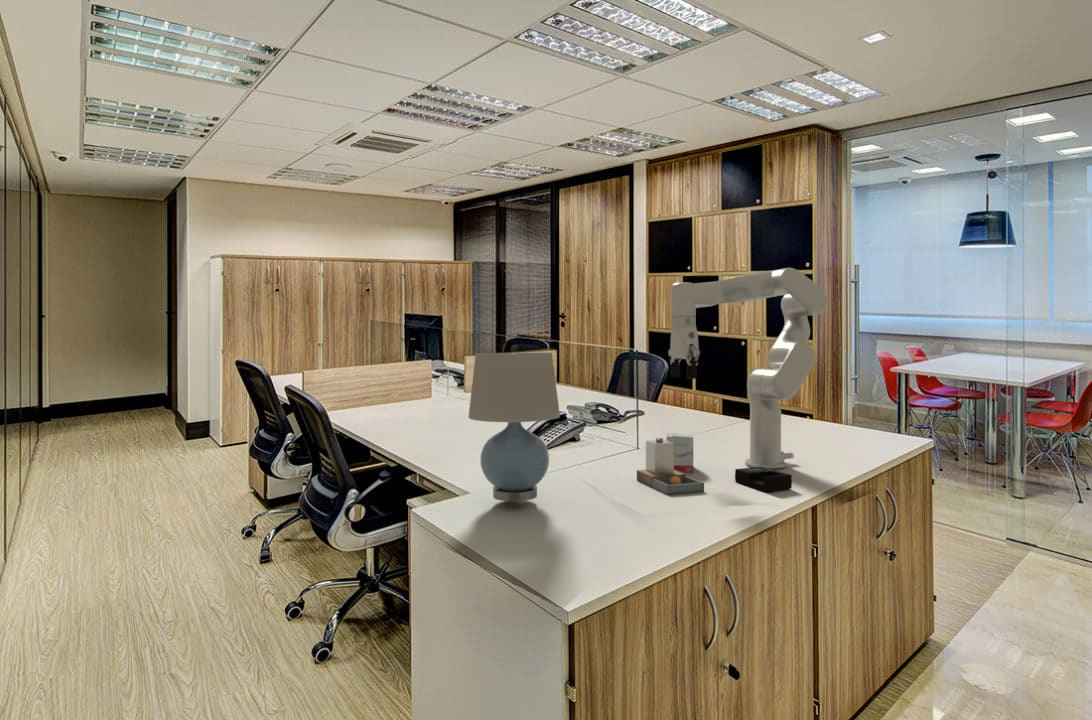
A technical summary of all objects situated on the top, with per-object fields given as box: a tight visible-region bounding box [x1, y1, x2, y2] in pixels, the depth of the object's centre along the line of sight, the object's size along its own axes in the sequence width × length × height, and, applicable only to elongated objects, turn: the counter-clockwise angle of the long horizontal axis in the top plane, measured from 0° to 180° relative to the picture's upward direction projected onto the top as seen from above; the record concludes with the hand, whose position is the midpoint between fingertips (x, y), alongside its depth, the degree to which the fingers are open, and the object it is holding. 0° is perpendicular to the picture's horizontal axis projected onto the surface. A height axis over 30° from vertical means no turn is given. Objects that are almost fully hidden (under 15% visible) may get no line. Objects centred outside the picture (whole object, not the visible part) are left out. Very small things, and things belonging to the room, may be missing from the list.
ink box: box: [665, 432, 694, 474], centre depth 197 cm, size 9×9×12 cm
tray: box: [650, 475, 705, 496], centre depth 172 cm, size 11×10×2 cm
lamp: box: [468, 352, 561, 502], centre depth 166 cm, size 25×25×39 cm
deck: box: [636, 469, 687, 488], centre depth 181 cm, size 11×10×3 cm
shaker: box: [645, 437, 674, 474], centre depth 182 cm, size 6×6×10 cm
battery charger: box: [734, 467, 793, 492], centre depth 178 cm, size 13×10×4 cm
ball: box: [670, 476, 681, 485], centre depth 173 cm, size 3×3×3 cm
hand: (683, 377), depth 190 cm, fingers open, 9 cm apart
